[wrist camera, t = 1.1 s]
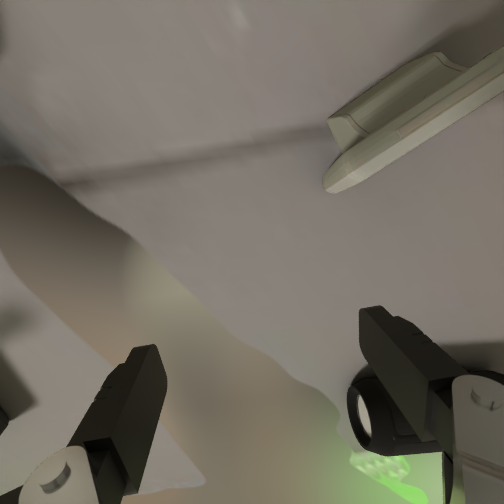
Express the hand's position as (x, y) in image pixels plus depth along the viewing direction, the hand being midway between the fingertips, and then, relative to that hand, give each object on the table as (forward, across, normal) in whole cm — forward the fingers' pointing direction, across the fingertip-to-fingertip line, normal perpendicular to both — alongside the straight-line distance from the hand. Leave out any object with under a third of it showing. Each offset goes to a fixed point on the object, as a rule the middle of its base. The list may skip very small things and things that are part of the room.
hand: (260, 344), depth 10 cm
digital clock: (+21, -16, -8) cm, 27 cm away
